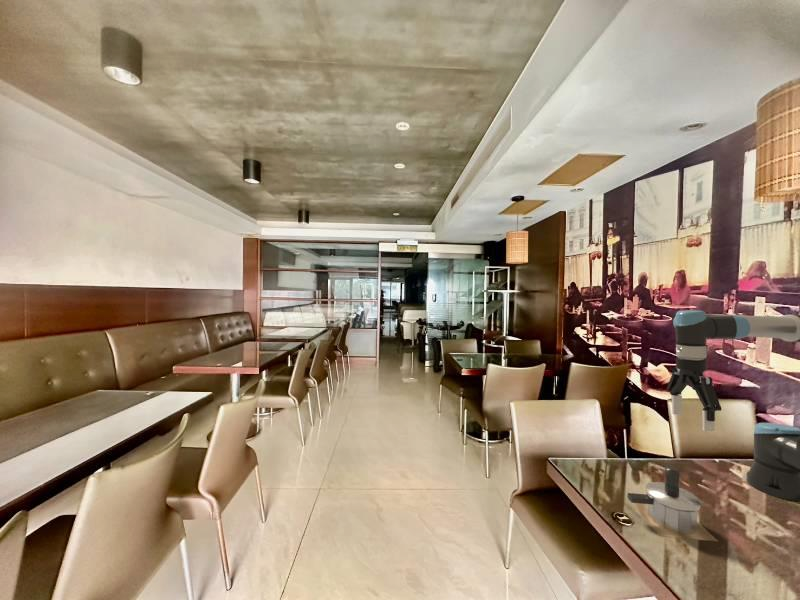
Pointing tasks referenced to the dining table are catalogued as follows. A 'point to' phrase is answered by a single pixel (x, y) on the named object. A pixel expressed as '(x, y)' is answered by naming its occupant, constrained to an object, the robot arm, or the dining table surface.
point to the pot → (667, 515)
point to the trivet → (699, 535)
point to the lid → (672, 493)
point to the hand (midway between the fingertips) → (691, 421)
